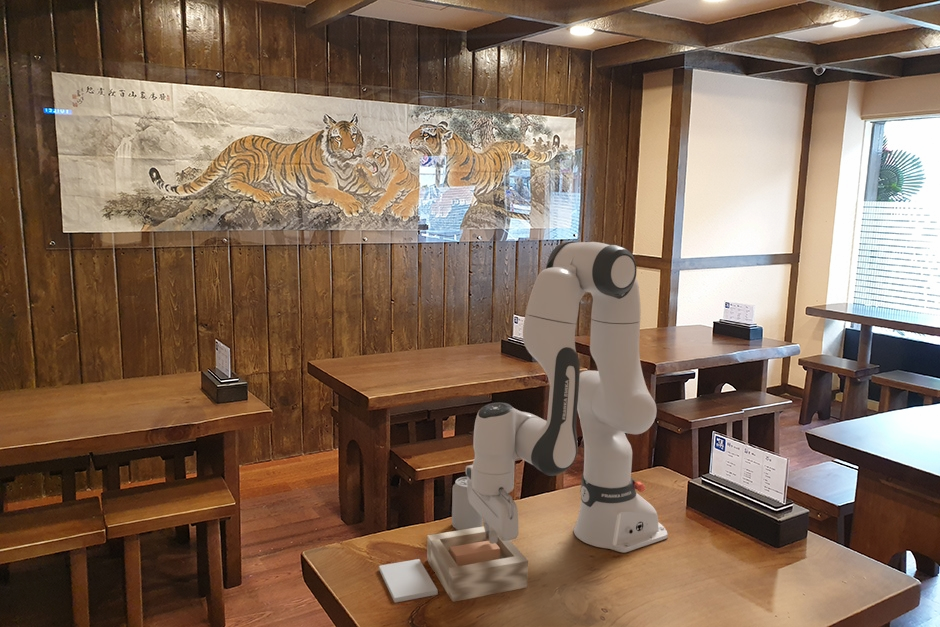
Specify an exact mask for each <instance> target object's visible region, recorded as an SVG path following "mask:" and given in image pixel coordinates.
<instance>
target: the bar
mask: <svg viewBox="0 0 940 627" xmlns="http://www.w3.org/2000/svg"><path fill="white" fill-rule="evenodd" d="M450 555H451V557H452V558H453V560H454V561H455V562H456V564H457V565H458V566H463V565H469V564H475V563H480V562H486V561H491V560H497V559H500V548H499V546H498V545H497V544H496V543H493V544H491V543H490V542H489V541H483V542H477V543H471V544H465V545H459V546H453V547H450Z"/></svg>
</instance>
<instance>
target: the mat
mask: <svg viewBox="0 0 940 627" xmlns="http://www.w3.org/2000/svg"><path fill="white" fill-rule="evenodd" d="M378 570H379V572H380V575H381V576H382V579H383V581H384V584H385V586H386V587H387V589H388V591H389V594H390V596H391V598H392V601H393V602H394V603H400V602H405V601H410V600H417V599H420V598H426V597H432V596H436V595H438V594H439V593H438V588H437V586H436V585H435V583H434V582H433V579H432V578H431V576H430V574H429V573H428V571H427V569H426V568H425V566H424V565H423V563H422V561H421V559H420V558H418V559H417V558H415V559H411V560H404V561H398V562H394V563H387V564H381V565H378Z"/></svg>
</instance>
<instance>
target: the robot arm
mask: <svg viewBox="0 0 940 627" xmlns="http://www.w3.org/2000/svg"><path fill="white" fill-rule="evenodd" d="M637 270H638V269H637V264H636V260H635V257H634V255H633V254H632V252H631V251H630V250H628V249H626V248H625V247H622V246H619V245H616V244H608V243H603V242H597V241H589V242H587V241H573V240H572V241H571V240H570V241H567V242H563V243H560V244H557V245H556V246H555V247H554V248H553V249H552V251H551V252H550V254H549V257H548V259H547V262H546V265H545V269H542V270H541V271H540V272H539V273H538V275H537V277H536V279H535V281H534V283H533V287H532V289H531V292H530V296H529V298H528V302H527V306H526V310H525V316H524V320H523V326H522V341H523V345H524V347H525V348H526V351H527V353H528V354H530V356H531V357H532V358H533V359H534V360H535V361H536V362H537V364H539V365H540V366H541V368H542V369H543V371H544V373H545V374H546V376H547V379H548V383H549V391H548V392H549V393H548V395H549V396H548V407H547V419H543V418H541V417H539V416H538V415H535V414H533V413H530V412H526V411H521V410H518V409H516V408H514V407H513V405H511V404H510V403H507V402H492V403H488V404H485V405H484V406H482V407H481V408H480V409H479V410H478V412H477V415H476V416H475V417H476V418H475V420H474V421H475V422H474V427H473V428H474V429H473V450H474V459H473V462H472V464H470V465H466V466H465V476H466V477H467V495H468V500H469V503H470V504H471V505H472V506H473V508H474V509H475V510H476V511H477V512H478V513H479V515H480V516H481V517H482V525H483V526H484V529H485V537H486V538H487V540H488V541H489V542H490V543H491V544H493V543H497V541H498V537H499V538H500V539H501V540H502V541H507V540H510V541H513V540H516V539H518V536H519V530H520V529H519V528H520V527H519V510H518V506H517V503H516V502H515V501H514V500H513V498H512V496H511V495H510V493H511V492H513V490H514V487H515V484H514V482H515V461H517V460H523V461H524V462H527V463H528V464H530V465H532V466H533V467H534V468H536V469H537V470H539V471H540V472H541V473H543V474H544V475H546V476H558V475H560V474H563V473H564V472H566V471H567V470H568V469H570V468H571V467H572V466H573V464H574V463H575V461H576V458H577V455H578V447H579V446H578V436H577V418H578V417H579V420H580V421H579V422H580V423H579V424H580V427H581V431H582V439H583V445H584V446H583V448H584V455H583V457H584V458H583V461H584V462H583V473H582V475H581V482H580V506H579V511H578V515H577V520H576V523H575V525H574V528H573V533H574V536H575V537H576V538H577V539H579V540H580V541H582V542H583V543H585V544H588V545H590V546H593V547H597V548H601V549H610V550H612V551H615V552H618V553H622V554H623V553H628V552H631V551H635V550H636V549H640V548H642V547H646V546H649V545H651V544H655V543H657V542H660V541H663V540H666V539H667V538H668V536H669V534H668V531H667V529H666V528H665V526H664V525H662V523H660V522H659V516H658V512H657V510H656V508H655V507H654V506H653V505H652V504H651V503H650V502H649V501H647V500H646V499H644V497H642V496H641V495H640V494H638V492H639V493H643V492H645V491H646V485H645V484H644V483H643V482H641V481H640V480H639V481H636V480H635V479H634V478H633V477H631V476H632V464H633V449H632V445H631V443H630V442H629V440H628V438H627V435H626V434H630V435H640V434H643V433H645V432H647V431H648V430H649V429H650V428H651V427H652V426H653V423H655V419H656V418H657V404H656V401H655V400H654V398H653V397H652V395H651V393H650V391H649V390H648V387H647V385H646V384H647V383H646V381H645V378H644V374H643V368H642V364H641V359H640V358H641V357H640V336H641V335H640V332H641V329H640V328H641V293H640V287H639V281H638V280H637ZM586 293H590V294H591V297H592V303H591V317H590V338H589V339H590V340H589V352H590V355H591V357H592V359H593V361H594V362H595V365H596V368H597V370H591V369H590V370H584V371H581V370H580V368H581V366H580V359H579V356H578V353H577V349H576V327H577V322H578V317H579V310H580V302H581V300H582V298H583V297H584V295H585V294H586ZM580 371H581V372H580ZM577 416H578V417H577ZM636 490H637V491H638V492H637V491H636Z"/></svg>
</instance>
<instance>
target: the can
mask: <svg viewBox="0 0 940 627" xmlns="http://www.w3.org/2000/svg"><path fill="white" fill-rule="evenodd" d="M467 477H468V476H461V477H459V478H457V479H456V480H455V481H454V482H455V483H454V484H453V485H452V495H451V496H452V499H451V500H452V504H451V505H452V506H451V525H452V527H453V528H455V531H458V530H464V529H470V528H477V527H483V518H482V517H481V516H480V515H479V513H478V512H477V511H476V510H475V509H474V508H473V506H472V505H471V504H470V503H469V500H468V495H467Z"/></svg>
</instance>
